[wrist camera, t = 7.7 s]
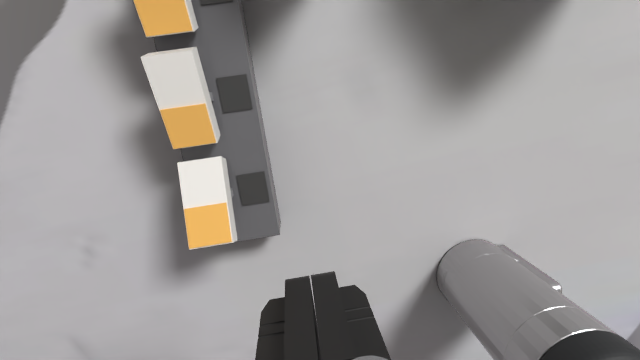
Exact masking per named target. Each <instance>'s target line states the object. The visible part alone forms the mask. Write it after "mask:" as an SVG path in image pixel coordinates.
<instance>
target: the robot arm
mask: <svg viewBox="0 0 640 360" xmlns="http://www.w3.org/2000/svg"><path fill="white" fill-rule="evenodd" d="M311 279H312V287H313V295H314V302H313V296H312V290H311V284H310V278H309V276H305V277H299V278H293V279H287V280H285V297H283V298H277V299H271V300H269V302H268V303H267V305H266V306H265V307H264V309H263V310H262V312H261V319H260V328H259V335H258V337H259V339H258V342H257V350H256V358H255V360H391V359H390V356H389V354H388V351H387V349H386V346H385V343H384V341H383V338H382V336H381V333H380V330H379V328H378V325H377V323H376V320H375V318H374V315H373V312H372V310H371V308H370V305H369V302H368V299H367V297H366V294H365V293H364V292H363V291H361V290H360V289H359V288H358V287H356V286H355V285H352V286H346V287H340V288H339V287H338V283H337V279H336V275H335V272H334V271H333V272H328V273H322V274H316V275H311ZM437 282H438V286H439V288H440V291H441V292H442V293H443V294H444V296H445V297H446V299H447V300H448V302H450V304H451V305H452V306H453V308H454V309H455V310H456V312H457V313H458V314H459V316H460V317H461V318H462V319H463V321H464V322H465V323H466V325H467V326H468V327H469V328H470V330H471V331H472V332H473V334H474V335H475V336H476V337H477V339H478V340H479V341H480V343H481V344H482V345H483V346H484V348H485V349H486V350H487V352H488V353H489V354H490V355H491V357H492V358H493V359H494V360H640V350H639V349H638V348H636V347H635V346H633V345H632V344H631V343H629V342H628V341H627V340H625V339H624V338H622V337H621V336H619V335H618V334H617V333H615V332H614V331H612V330H611V329H610V328H608V327H607V326H606V325H604V324H603V323H601V322H600V321H599V320H597V319H596V318H595V317H593V316H592V315H590V314H589V313H587V312H586V311H585V310H583V309H582V308H581V307H579V306H578V305H576V304H575V303H574V302H572V301H571V300H569V299H568V298H567V297H565V296H564V295H563V294H562V287H561V285H560V284H559V283H558V282H557V281H555V280H554V279H552V278H551V277H549V276H548V275H547V274H545V273H544V272H542V271H541V270H539V269H538V268H536V267H535V266H534V265H532V264H531V263H529V262H528V261H526V260H525V259H523V258H522V257H521V256H519V255H518V254H516V253H515V252H513V251H512V250H511V249H509V248H508V247H506V246H505V245H501V246H496V245H494V244H492V243H490V242H488V241H485V240H477V239H474V240H468V241H465V242H462V243H459V244H458V245H456V246H454V247H453V248H452V249H451V250H449V251H448V252H447V253H446V255H445V256H444V257H443V258H442V260H441V262H440V264H439V267H438V271H437ZM314 303H315V309H314ZM315 311H316V315H315ZM316 319H317V321H316Z"/></svg>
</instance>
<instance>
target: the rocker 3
mask: <svg viewBox="0 0 640 360" xmlns="http://www.w3.org/2000/svg"><path fill="white" fill-rule="evenodd" d="M177 165H178V172H179V180H180V187H181V195H182V202H183V210H184V217H185V225H186V232H187V240H188V247H189V250H191V249H197V248H203V247H209V246H215V245H221V244H227V243H233V242H235V241H237V233H236V226H235V219H234V212H233V205H232V198H231V191H230V184H229V177H228V169H227V162H226V159H225V158H223V157H222V156H218V157H212V158H205V159H198V160H192V161H185V162H178V163H177Z"/></svg>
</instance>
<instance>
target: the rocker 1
mask: <svg viewBox="0 0 640 360" xmlns="http://www.w3.org/2000/svg"><path fill="white" fill-rule="evenodd" d="M133 2H134V5H135V7H136V10H137V13H138V16H139V19H140V22H141V24H142V27H143V30H144V33H145V36H146V38H148V37H155V36H163V35H171V34H178V33H186V32H194V31H195V30H197V29H198V25H197V21H196V17H195V14H194V10H193V6H192V3H191V0H133Z"/></svg>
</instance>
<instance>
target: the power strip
mask: <svg viewBox="0 0 640 360" xmlns="http://www.w3.org/2000/svg"><path fill="white" fill-rule="evenodd" d="M191 3H192V6H193V10H194V14H195V17H196V21H197V25H198V29H197V30H195V31H194V32H186V33H178V34H171V35H163V36H155V37H154V41H155V45H156V50H157V52H160V51H168V50H175V49H183V48H190V47H197V50H198V54H199V58H200V61H201V65H202V69H203V72H204V76H205V80H206V83H207V87H208V91H209V94H210V98H211V102H212V105H213V109H214V113H215V116H216V120H217V124H218V127H219V131H220V138H219V140H218V143H214V144H207V145H200V146H193V147H187V148H181V152H182V157H183V161H184V162H185V161H192V160H198V159H205V158H212V157H218V156H222V157H223V158H225V159H226V162H227V169H228V177H229V184H230V191H231V198H232V205H233V212H234V219H235V226H236V233H237V241H235V242H239V241H245V240H251V239H257V238H263V237H269V236H275V235H280V223H281V221H280V215H279V209H278V204H277V198H276V193H275V187H274V181H273V176H272V170H271V164H270V159H269V153H268V148H267V142H266V136H265V131H264V125H263V119H262V114H261V108H260V103H259V97H258V91H257V86H256V80H255V74H254V69H253V63H252V58H251V52H250V46H249V41H248V35H247V29H246V24H245V18H244V13H243V7H242V1H241V0H191Z"/></svg>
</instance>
